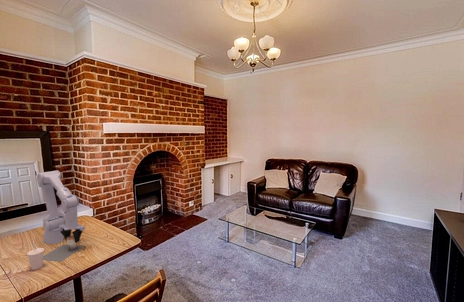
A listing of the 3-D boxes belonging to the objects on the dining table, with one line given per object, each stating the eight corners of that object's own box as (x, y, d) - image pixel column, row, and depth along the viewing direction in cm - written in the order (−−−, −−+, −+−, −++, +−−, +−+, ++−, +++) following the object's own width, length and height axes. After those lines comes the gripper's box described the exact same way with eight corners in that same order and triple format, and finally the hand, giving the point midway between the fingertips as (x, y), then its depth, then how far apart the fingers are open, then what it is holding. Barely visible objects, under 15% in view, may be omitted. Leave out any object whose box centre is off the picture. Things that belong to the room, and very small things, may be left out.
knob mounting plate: (37, 262, 113) (36, 251, 112) (63, 246, 127) (62, 237, 127) (61, 264, 111) (60, 253, 110) (84, 248, 125) (84, 238, 125)
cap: (64, 244, 120) (64, 238, 119) (72, 240, 125) (72, 234, 125) (72, 245, 119) (72, 239, 119) (80, 240, 124) (80, 234, 124)
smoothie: (35, 266, 109) (33, 239, 108) (49, 265, 110) (47, 239, 108) (24, 274, 103) (22, 246, 101) (39, 274, 103) (36, 246, 102)
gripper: (53, 220, 118) (54, 244, 119) (76, 222, 116) (78, 246, 117) (64, 215, 125) (66, 238, 126) (87, 216, 123) (88, 239, 124)
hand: (72, 241), depth 122 cm, fingers closed on cap, 5 cm apart
